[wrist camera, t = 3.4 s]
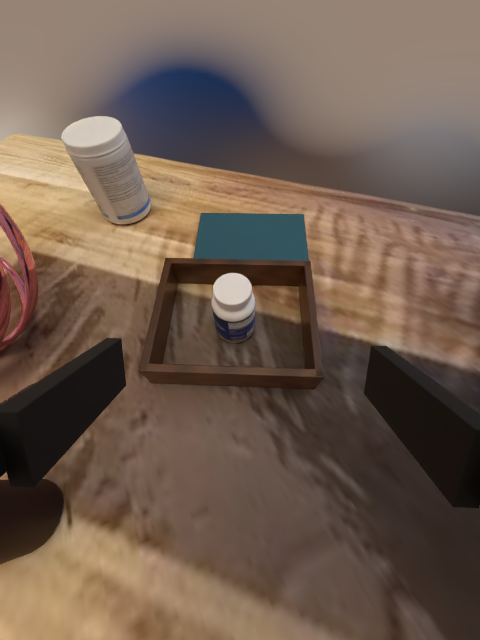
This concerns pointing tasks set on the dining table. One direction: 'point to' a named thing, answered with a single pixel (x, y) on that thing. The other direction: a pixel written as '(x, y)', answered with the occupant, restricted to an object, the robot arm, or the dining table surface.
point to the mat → (251, 237)
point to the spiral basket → (16, 281)
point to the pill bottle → (233, 307)
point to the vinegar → (27, 517)
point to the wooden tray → (231, 375)
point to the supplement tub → (108, 168)
